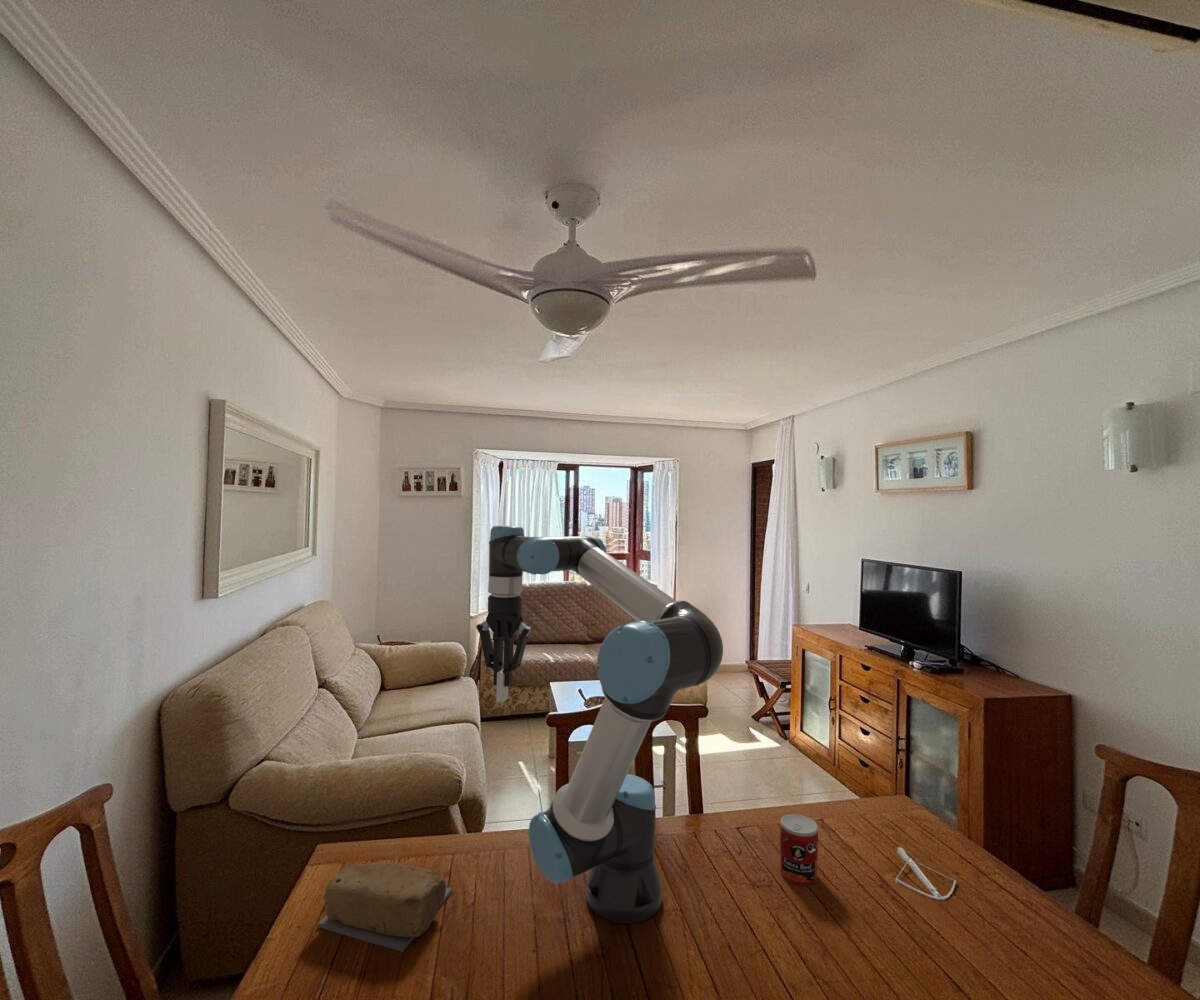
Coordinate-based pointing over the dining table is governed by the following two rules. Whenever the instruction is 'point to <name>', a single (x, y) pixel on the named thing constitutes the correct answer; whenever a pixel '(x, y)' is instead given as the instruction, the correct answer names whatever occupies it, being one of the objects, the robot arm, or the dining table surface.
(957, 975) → the dining table surface
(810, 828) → the canned food
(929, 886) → the crossbow
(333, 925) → the mat
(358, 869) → the block
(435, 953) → the dining table surface
